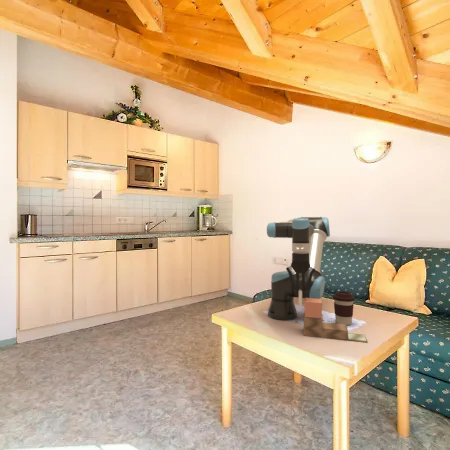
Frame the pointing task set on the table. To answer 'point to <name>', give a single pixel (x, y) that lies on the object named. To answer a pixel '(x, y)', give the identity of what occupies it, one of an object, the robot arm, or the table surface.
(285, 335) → the table surface
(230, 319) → the table surface
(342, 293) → the coffee cup
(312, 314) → the block
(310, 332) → the stair
